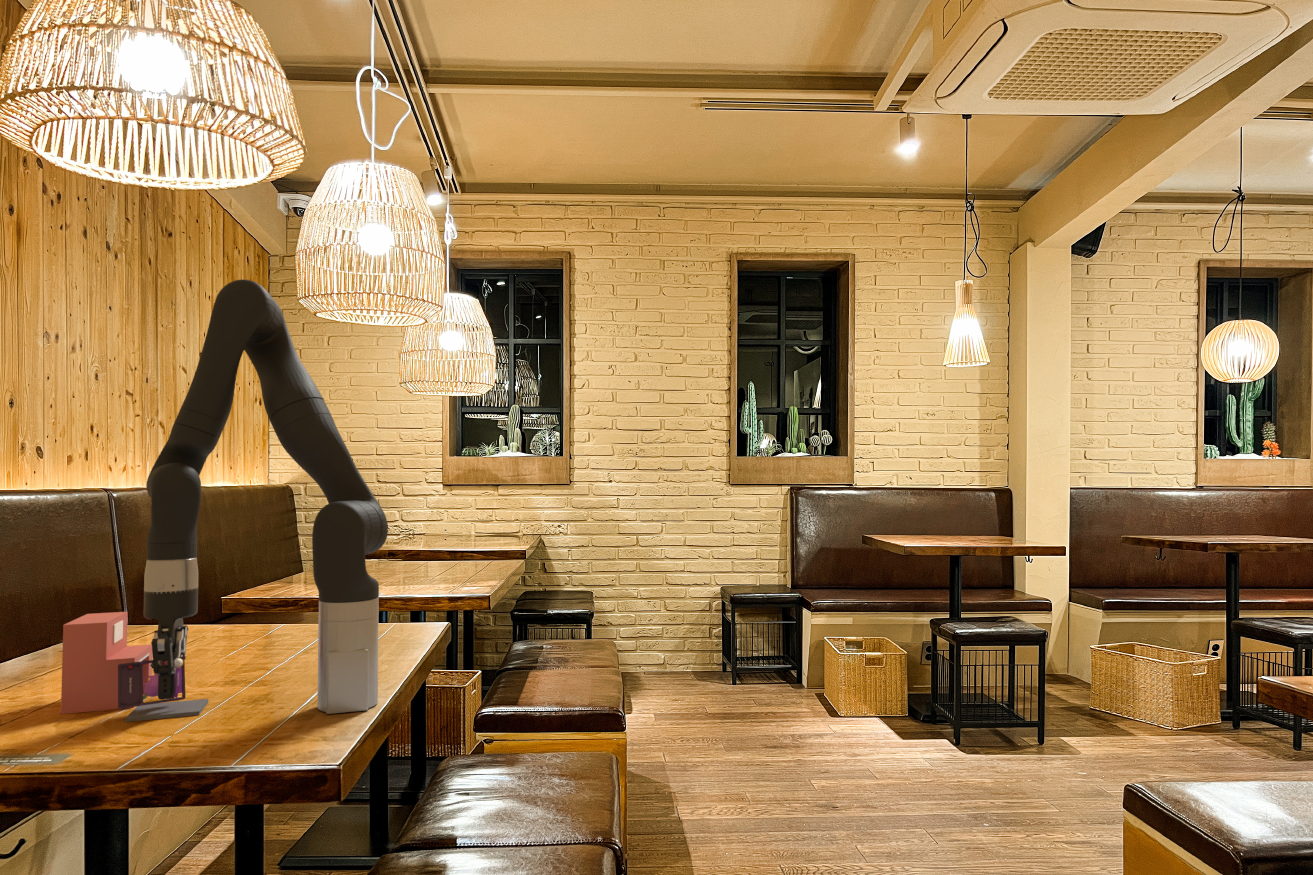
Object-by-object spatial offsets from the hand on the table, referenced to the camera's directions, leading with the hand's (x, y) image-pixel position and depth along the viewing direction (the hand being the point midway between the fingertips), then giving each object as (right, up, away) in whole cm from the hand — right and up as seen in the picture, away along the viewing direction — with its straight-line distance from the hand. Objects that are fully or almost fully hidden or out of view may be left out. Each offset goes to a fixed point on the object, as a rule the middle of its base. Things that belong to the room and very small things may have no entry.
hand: (169, 694), depth 131 cm
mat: (0, -3, 0) cm, 3 cm away
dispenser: (-14, -3, +7) cm, 16 cm away
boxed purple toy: (-2, -1, -1) cm, 3 cm away
